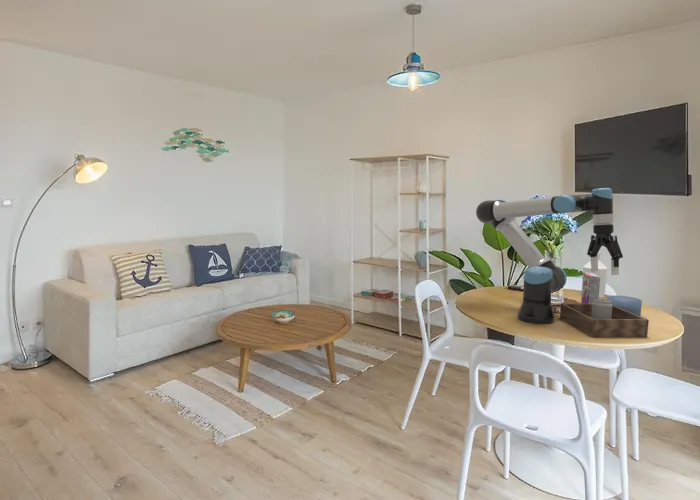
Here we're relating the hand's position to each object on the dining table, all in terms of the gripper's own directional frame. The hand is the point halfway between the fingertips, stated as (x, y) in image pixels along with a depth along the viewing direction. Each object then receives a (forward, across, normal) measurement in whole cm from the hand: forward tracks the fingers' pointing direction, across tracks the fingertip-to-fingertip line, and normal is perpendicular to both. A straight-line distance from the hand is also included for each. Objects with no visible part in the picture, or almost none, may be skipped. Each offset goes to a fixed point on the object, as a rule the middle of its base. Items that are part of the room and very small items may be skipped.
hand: (604, 273), depth 191 cm
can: (+23, -2, +4) cm, 24 cm away
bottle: (+21, +54, -30) cm, 65 cm away
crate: (+23, -2, +4) cm, 23 cm away
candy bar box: (+22, +33, -13) cm, 41 cm away
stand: (+23, +14, -18) cm, 33 cm away
